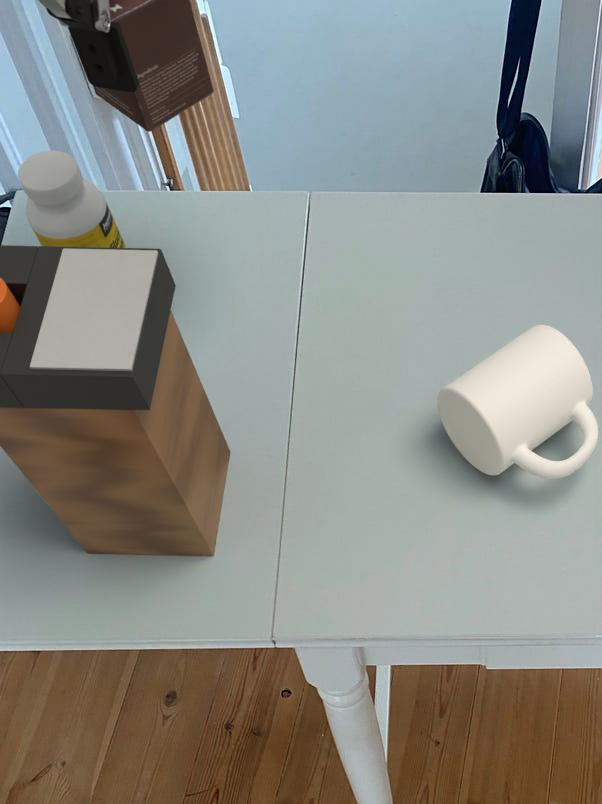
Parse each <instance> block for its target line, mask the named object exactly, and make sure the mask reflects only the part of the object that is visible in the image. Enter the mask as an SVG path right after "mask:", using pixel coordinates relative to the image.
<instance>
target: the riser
mask: <svg viewBox="0 0 602 804" xmlns="http://www.w3.org/2000/svg"><path fill="white" fill-rule="evenodd" d="M0 448H1V449H2V450H3V451H4V453H5V454H6V455H7V457H9V459H10V460H11V461H12V462H13V464H14V465H15V466H16V467H17V468H18V470H19V471H20V472H21V474H22V475H24V477H25V478H26V480H27V481H28V483H30V485H31V486H32V487H33V488H34V489H35V491H36V492H37V493H38V494H39V496H40V497H41V498H42V499H43V501H45V503H46V504H47V505H48V506H49V508H50V509H51V510H52V511H53V513H54V514H55V515H56V516H57V517H58V519H59V520H60V521H61V522H62V524H63V526H64V527H65V528H66V529H67V530H68V532H69V533H70V534H71V535H72V537H74V538H75V540H76V541H77V542H78V543H79V545H80V546H81V547H82V548H83V550H84V551H85V552H86V553H87V554H102V555H103V554H109V555H110V554H111V555H153V556H154V555H158V556H161V555H162V556H203V557H205V556H206V557H211V556H212V557H214V556H215V549H216V544H217V538H218V531H219V524H220V520H221V519H220V518H221V512H222V505H223V500H224V492H225V488H226V482H227V481H226V480H227V476H228V475H227V474H228V468H229V461H230V456H231V450H230V447H229V445H228V443H227V441H226V438H225V435H224V433H223V431H222V429H221V426H220V424H219V421H218V419H217V416H216V414H215V412H214V409H213V407H212V404H211V401H210V400H209V397H208V395H207V393H206V390H205V388H204V386H203V383H202V381H201V378H200V377H199V373H198V371H197V369H196V367H195V364H194V361H193V360H192V357H191V355H190V353H189V350H188V348H187V346H186V343H185V340H184V339H183V336H182V334H181V331H180V328H179V326H178V324H177V321H176V319H175V317H174V314H173V312H172V310H171V311H170V316H169V320H168V325H167V330H166V335H165V340H164V344H163V349H162V354H161V359H160V364H159V368H158V373H157V378H156V383H155V388H154V392H153V397H152V402H151V407H150V410H120V409H71V408H25V407H24V408H15V407H0Z"/></svg>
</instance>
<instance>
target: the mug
mask: <svg viewBox="0 0 602 804" xmlns="http://www.w3.org/2000/svg"><path fill="white" fill-rule="evenodd" d="M593 397H594V388H593V382H592V378H591V374H590V372H589V369H588V366H587V364H586V362H585V360H584V358H583V356H582V355H581V353H580V352H579V350H578V349H577V348H576V346H575V345H574V344H573V343H572V341H571V340H570V339H569V338H568V337H567V336H565V335H564V334H563V333H562V332H561V331H559V330H558V329H556V328H554V327H552V326H549V325H546V324H535V325H533V326H531V327H530V328H528V329H527V330H526V331H524V332H522V333H521V334H520V335H518V336H516V337H515V338H514V339H512V340H510V342H508V343H507V344H505V345H504V346H502V347H501V348H499V349H498V350H496V351H495V352H494V353H492V354H491V355H489V356H487V357H486V358H485V359H483V360H481V361H480V362H479V363H478V364H476V365H474V366H473V367H471V368H470V369H468V370H467V371H466V372H464V373H463V374H461V375H460V376H459V377H457V378H455V379H454V380H452V381H451V382H450V383H448V384H446V385H445V386H444V387H442V389H440V390H439V392H438V394H437V401H436V402H437V409H438V410H437V411H438V414H439V418H440V420H441V423H442V425H443V428H444V429H445V432H446V434H447V435H448V438H449V439H450V440H451V442H452V444H453V445H454V446H455V448H456V449H457V450H458V452H459V453H460V455H462V457H463V458H464V459H465V460H466V461H467V462H468V463H469V464H471V466H473V467H474V468H475V469H476V470H478V471H479V472H481V473H483V474H486V475H489V476H497V475H500V474H502V473H503V472H504V471H506V470H507V469H508V468H510V467H512V465H514V464H516V465H517V466H518V467H519V468H521V469H522V470H523V471H524V472H525V471H526V472H527V473H529V474H531V475H533V476H535V477H539V478H541V479H546V480H547V479H548V480H555V479H556V480H557V479H561V478H565V477H567V476H569V475H572V474H573V473H575V472H577V470H579V469H580V468H582V466H584V465H585V464H586V462H587V461H588V460H589V459H590V458H591V456H592V454H593V453H594V451H595V450H596V447H597V444H598V440H599V425H598V421H597V419H596V416H595V414H594V413H593V411H592V410H591V409H590V406H591V404H592V402H593V401H592V400H593ZM572 421H575V422H576V423H577V424H578V426H579V427H580V429H581V431H582V434H583V442H582V444H581V446H580V448H578V450H577V451H576V452H575V453H574V454H573V455H570V457H568V458H566V459H564V460H551V459H547V458H544V457H542V456H540V455H538V454H537V453H536V452H534V451H533V450H534V449H536V448H537V447H539V446H540V445H541V444H543V443H544V442H546V440H548V439H549V438H551V437H552V436H553V435H554V434H556V433H557V432H558V431H560V430H562V429H563V428H564V427H566V426H567V425H568V424H570V423H571V422H572Z"/></svg>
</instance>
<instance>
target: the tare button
mask: <svg viewBox="0 0 602 804" xmlns="http://www.w3.org/2000/svg"><path fill="white" fill-rule="evenodd" d="M19 310H20V306H19V304H18V302H17V301H16V299H15V298H14V296H13V294H12V293H11V291H10V290H9V288H8V286H7V285H6V283H5V282H4V281H3V279H1V278H0V332H4V333H13V330H14V327H15V323H16V320H17V317H18V313H19Z"/></svg>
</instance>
